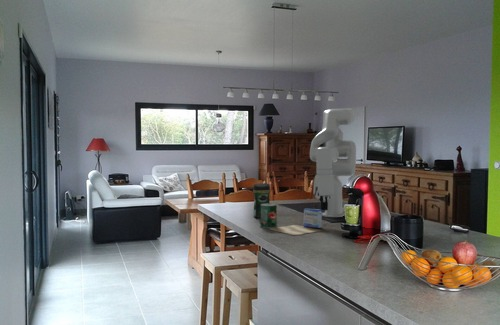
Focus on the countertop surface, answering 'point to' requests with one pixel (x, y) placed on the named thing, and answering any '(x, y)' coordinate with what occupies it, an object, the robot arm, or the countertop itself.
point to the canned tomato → (268, 215)
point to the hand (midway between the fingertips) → (324, 209)
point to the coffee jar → (260, 197)
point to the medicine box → (312, 218)
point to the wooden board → (294, 230)
